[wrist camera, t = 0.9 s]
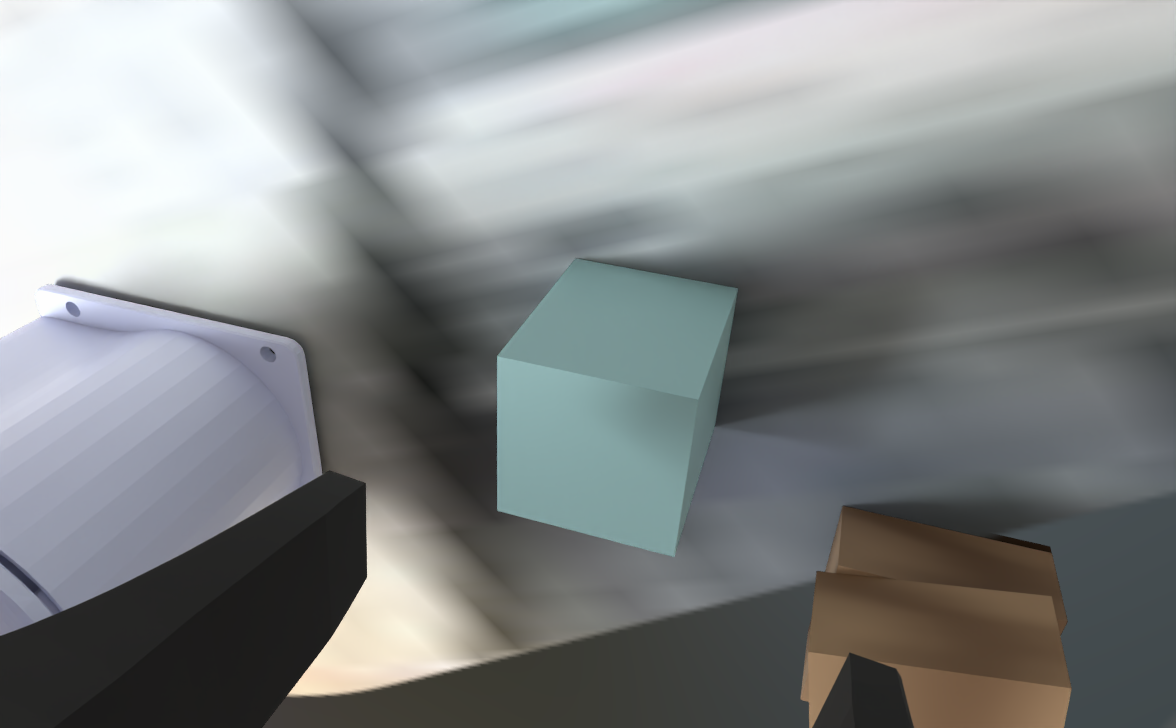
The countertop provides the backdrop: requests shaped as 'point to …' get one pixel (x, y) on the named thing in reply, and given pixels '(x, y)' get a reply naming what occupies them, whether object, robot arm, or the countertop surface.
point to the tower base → (938, 560)
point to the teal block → (612, 403)
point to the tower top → (944, 650)
